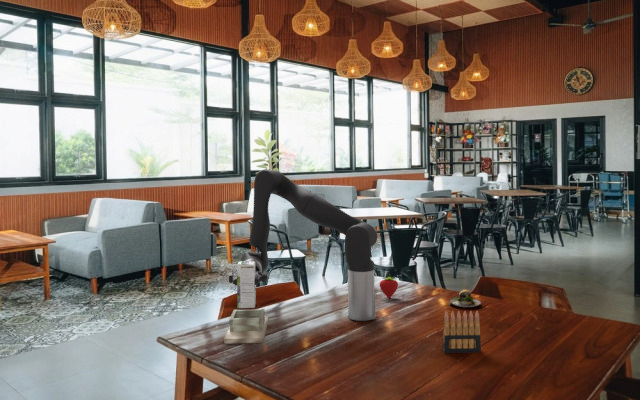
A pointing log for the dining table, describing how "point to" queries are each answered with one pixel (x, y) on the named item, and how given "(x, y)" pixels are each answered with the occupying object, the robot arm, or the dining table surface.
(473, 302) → the burger
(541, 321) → the dining table surface
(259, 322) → the stand
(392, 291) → the strawberry
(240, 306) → the syrup box
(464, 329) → the ammunition clip
